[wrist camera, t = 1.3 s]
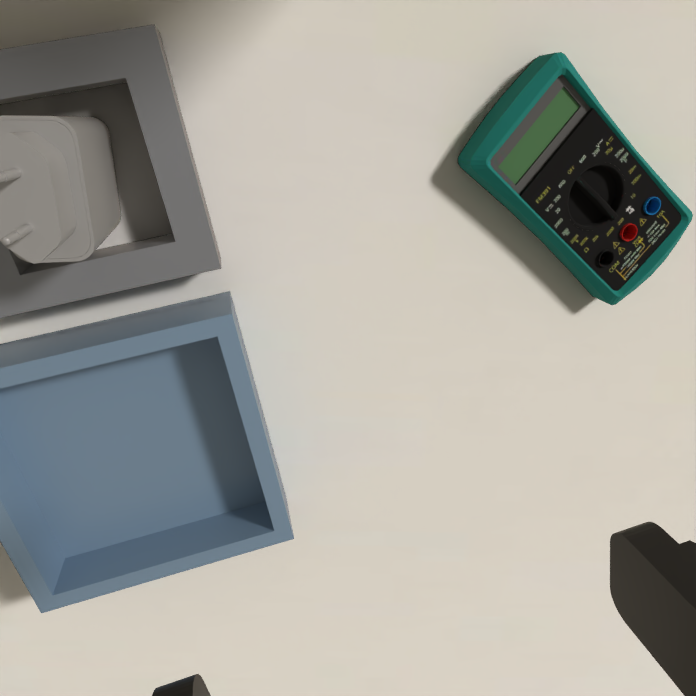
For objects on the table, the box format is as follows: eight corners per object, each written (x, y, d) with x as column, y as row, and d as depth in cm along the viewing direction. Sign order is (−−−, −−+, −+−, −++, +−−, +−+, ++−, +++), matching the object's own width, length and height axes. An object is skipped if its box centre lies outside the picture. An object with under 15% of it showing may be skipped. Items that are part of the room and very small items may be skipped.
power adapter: (58, 230, 28) (-37, 299, 18) (37, 116, 26) (-86, 113, 15) (123, 229, 29) (69, 294, 18) (107, 117, 27) (35, 115, 16)
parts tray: (-50, 355, 29) (-87, 388, 26) (229, 291, 31) (232, 313, 28) (58, 563, 36) (41, 613, 32) (286, 498, 38) (294, 538, 34)
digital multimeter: (595, 302, 38) (625, 316, 35) (447, 158, 32) (469, 162, 29) (672, 215, 37) (708, 223, 34) (533, 49, 31) (564, 43, 28)
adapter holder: (-90, 73, 25) (-121, 68, 22) (159, 32, 26) (154, 24, 24) (13, 303, 29) (-4, 318, 27) (220, 257, 31) (221, 268, 28)
